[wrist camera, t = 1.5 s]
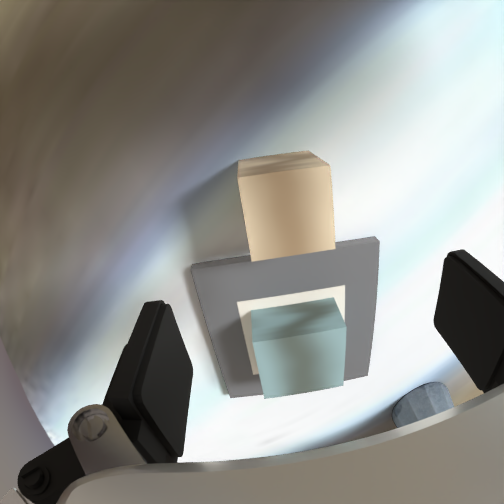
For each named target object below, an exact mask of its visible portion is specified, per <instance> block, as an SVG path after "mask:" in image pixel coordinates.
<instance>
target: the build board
mask: <svg viewBox="0 0 504 504" xmlns="http://www.w3.org/2000/svg"><path fill="white" fill-rule="evenodd" d="M378 268H379V240H378V239H377V238H376V237H375V236H374V237H368V238H361V239H355V240H348V241H342V242H335V249H332V250H326V251H319V252H313V253H306V254H299V255H293V256H286V257H280V258H273V259H266V260H260V261H253V262H252V261H251V255H250V256H243V257H236V258H230V259H223V260H216V261H210V262H203V263H196V264H192V268H191V273H192V276H193V280H194V283H195V287H196V290H197V294H198V297H199V301H200V304H201V308H202V311H203V314H204V318H205V321H206V324H207V328H208V331H209V334H210V337H211V341H212V344H213V347H214V350H215V353H216V356H217V359H218V363H219V366H220V369H221V372H222V375H223V378H224V381H225V384H226V387H227V390H228V392H229V395H230V398H235V397H245V396H254V395H263V389H262V385H261V380H260V376H259V371H258V366H257V362H256V357H255V352H254V347H253V343H252V323H251V310H257V309H264V308H270V307H277V306H284V305H290V304H296V303H302V302H309V301H314V300H320V299H326V298H332V297H334V299H335V301H336V304H337V306H338V308H339V310H340V313H341V315H342V317H343V320H344V322H345V324H346V327H347V330H346V351H345V367H344V381H346V380H350V379H355V378H359V377H364V376H368V370H369V363H370V356H371V348H372V340H373V331H374V321H375V311H376V299H377V285H378Z"/></svg>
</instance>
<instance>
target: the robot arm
mask: <svg viewBox="0 0 504 504" xmlns="http://www.w3.org/2000/svg"><path fill="white" fill-rule="evenodd" d="M434 325H435V328H436V329H437V331H438V332H439V333H440V335H441V336H442V337H443V339H444V340H445V341H446V343H447V344H448V346H449V347H450V348H451V350H452V351H453V353H454V354H455V355H456V357H457V358H458V360H459V361H460V362H461V364H462V365H463V367H464V368H465V370H466V371H467V373H468V374H469V376H470V377H471V379H472V380H473V382H474V383H475V385H476V386H477V388H478V389H479V390H482V391H483V392H484V394H482V395H480V396H478V397H476V398H474V399H471V400H469V401H467V402H465V403H463V404H460V405H458V406H456V407H453V408H451V409H448V410H446V411H444V412H441V413H439V414H436V415H433V416H431V417H428V418H426V419H423V420H420V421H417V422H414V423H412V424H409V425H406V426H403V427H400V428H396V429H393V430H390V431H387V432H383V433H380V434H377V435H373V436H369V437H366V438H362V439H358V440H354V441H350V442H346V443H342V444H337V445H333V446H328V447H323V448H318V449H313V450H308V451H302V452H296V453H290V454H283V455H276V456H268V457H260V458H250V459H240V460H228V461H213V462H186V463H177V459H178V457H182V455H183V451H184V442H185V433H186V424H187V416H188V408H189V400H190V392H191V385H192V377H193V367H192V363H191V360H190V358H189V355H188V353H187V350H186V347H185V345H184V342H183V339H182V337H181V334H180V331H179V328H178V326H177V323H176V320H175V317H174V314H173V311H172V308H171V306H170V305H169V304H165V303H164V301H162V300H159V301H151V302H145V303H144V305H143V308H142V310H141V312H140V315H139V317H138V319H137V322H136V324H135V327H134V329H133V332H132V334H131V337H130V339H129V341H128V344H126V345H125V347H124V349H123V351H122V354H121V356H120V359H119V362H118V364H117V367H116V369H115V372H114V374H113V377H112V380H111V382H110V385H109V388H108V391H107V393H106V396H105V399H104V402H103V404H102V405H98V404H93V405H88V406H86V407H83V408H81V409H80V410H78V411H77V412H76V413H75V414H74V415H73V416H72V417H71V419H70V421H69V424H68V430H67V431H68V436H69V438H67V439H66V440H64V441H62V442H61V443H59V444H58V445H56V446H54V447H53V448H51V449H49V450H48V451H46V452H45V453H43V454H41V455H39V456H38V457H36V458H34V459H33V460H31V461H29V462H28V463H27V464H25V465H24V467H23V468H22V469H21V470H20V473H19V475H18V489H17V490H16V489H15V488H12V489H11V490H10V491H9V492H8V493H7V494H6V495H5V496H4V497H3V498H2V499H1V500H0V504H504V282H503V281H502V280H501V279H500V278H498V277H497V276H496V275H495V274H494V273H492V272H491V271H490V270H489V269H488V268H486V267H485V266H484V265H483V264H481V263H480V262H479V261H478V260H477V259H475V258H474V257H473V256H471V255H470V254H469V253H468V252H466V251H465V250H457V251H452V252H449V253H448V255H447V257H446V258H445V259H444V264H443V271H442V277H441V283H440V289H439V295H438V300H437V305H436V310H435V315H434Z"/></svg>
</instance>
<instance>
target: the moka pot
mask: <svg viewBox="0 0 504 504" xmlns="http://www.w3.org/2000/svg"><path fill="white" fill-rule="evenodd" d="M453 407H454V405H453V402H452V399H451V396H450V393H449V391H448V388H447V387H446V386H445V385H443V384H442V383H439V382H433V383H427V384H425V385H422V386H420V387H418V388H416V389H414V390H412V391H411V392H409V393H408V394H407V395H405V396H404V397H403V398H402V399H401V400H400V401H399V402H398V403H397V405H396V406H395V407H394V409H393V413H392V419H393V421H394V423H395V425H396V426H397V428H400V427H403V426H406V425H409V424H412V423H414V422H417V421H420V420H423V419H426V418H428V417H431V416H433V415H436V414H439V413H441V412H444V411H446V410H448V409H451V408H453Z"/></svg>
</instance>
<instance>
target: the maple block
mask: <svg viewBox="0 0 504 504" xmlns="http://www.w3.org/2000/svg"><path fill="white" fill-rule="evenodd" d="M237 179H238V185H239V191H240V197H241V203H242V209H243V214H244V220H245V226H246V232H247V238H248V243H249V249H250V255H251V261H252V262H253V261H260V260H266V259H273V258H280V257H286V256H293V255H299V254H306V253H313V252H319V251H326V250H332V249H335V228H334V210H333V195H332V182H331V170H330V165H329V164H327V163H326V162H324V161H323V160H321V159H320V158H318V157H317V156H315V155H314V154H312V153H311V152H309V151H301V152H293V153H285V154H277V155H270V156H263V157H256V158H249V159H243V160H239V161H238V174H237Z"/></svg>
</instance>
